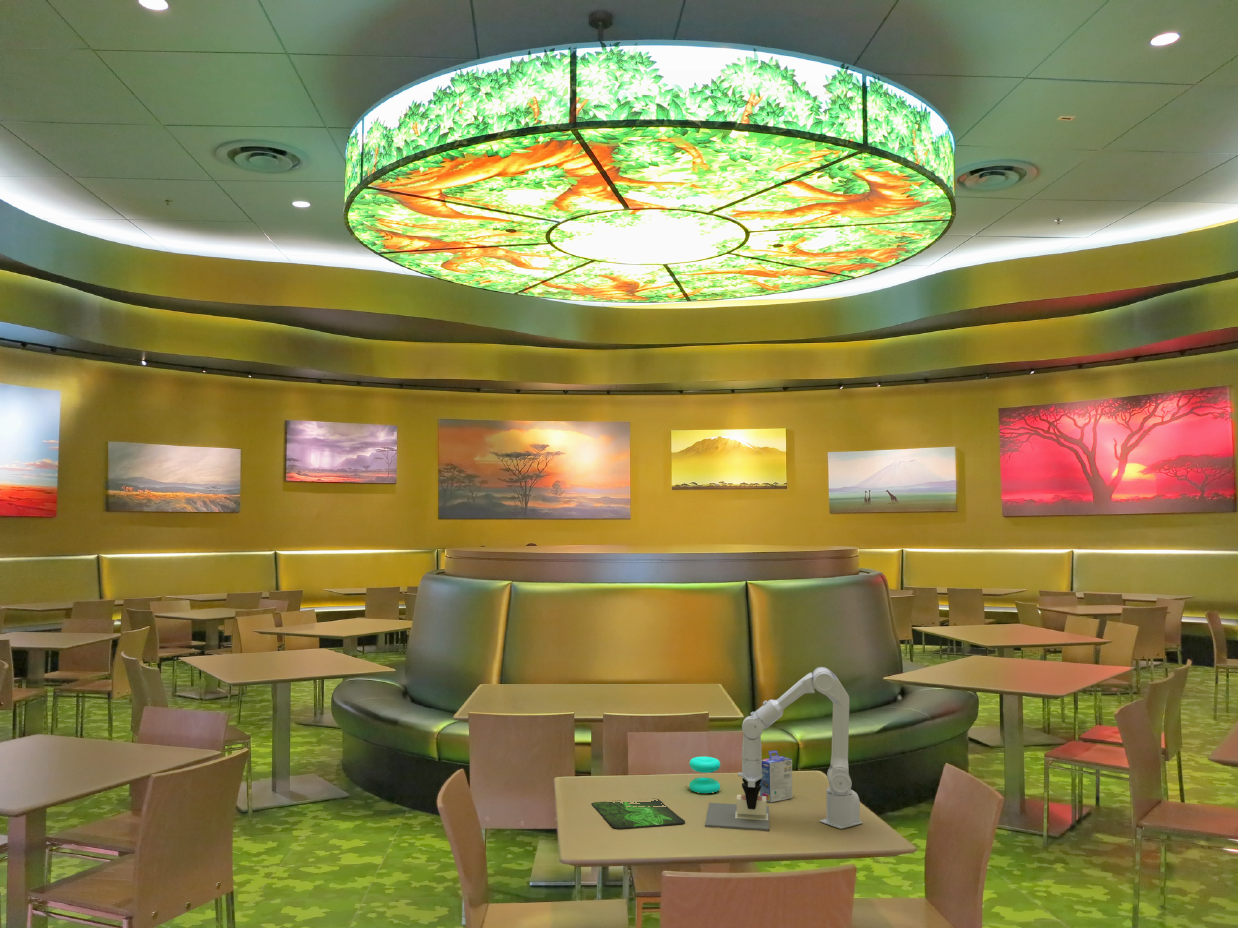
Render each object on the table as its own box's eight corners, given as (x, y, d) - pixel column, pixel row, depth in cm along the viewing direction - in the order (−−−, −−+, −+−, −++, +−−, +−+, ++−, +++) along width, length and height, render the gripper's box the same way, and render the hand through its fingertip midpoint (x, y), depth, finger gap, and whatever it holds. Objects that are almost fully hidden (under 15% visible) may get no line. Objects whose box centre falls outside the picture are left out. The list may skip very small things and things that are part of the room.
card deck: (737, 808, 270) (737, 794, 271) (766, 810, 269) (766, 796, 269) (736, 813, 265) (736, 798, 266) (766, 815, 264) (766, 800, 264)
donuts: (687, 761, 292) (691, 754, 302) (686, 793, 292) (691, 785, 301) (718, 763, 290) (722, 756, 300) (718, 796, 289) (721, 787, 299)
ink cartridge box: (781, 794, 293) (781, 748, 294) (793, 798, 288) (793, 751, 289) (758, 798, 287) (758, 751, 288) (770, 803, 283) (770, 755, 284)
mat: (768, 808, 277) (768, 805, 277) (769, 830, 256) (769, 828, 256) (709, 804, 280) (709, 802, 280) (704, 826, 258) (704, 824, 258)
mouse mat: (588, 803, 280) (588, 800, 280) (656, 798, 286) (656, 795, 286) (614, 831, 254) (614, 827, 254) (687, 825, 260) (687, 821, 260)
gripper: (738, 752, 276) (738, 798, 275) (737, 763, 262) (737, 812, 261) (762, 753, 275) (762, 799, 274) (762, 765, 261) (762, 813, 260)
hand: (751, 805), depth 267 cm, fingers closed on card deck, 5 cm apart
